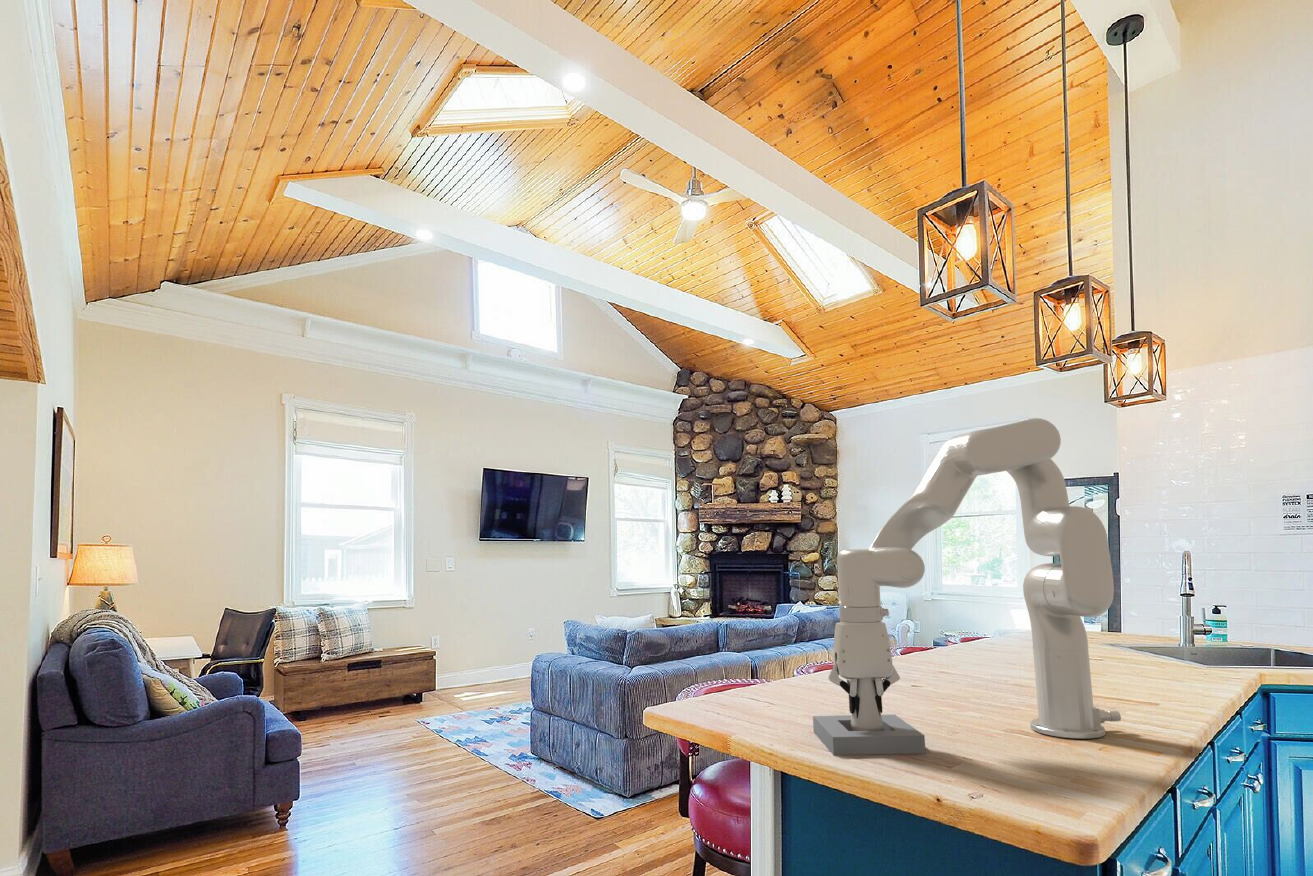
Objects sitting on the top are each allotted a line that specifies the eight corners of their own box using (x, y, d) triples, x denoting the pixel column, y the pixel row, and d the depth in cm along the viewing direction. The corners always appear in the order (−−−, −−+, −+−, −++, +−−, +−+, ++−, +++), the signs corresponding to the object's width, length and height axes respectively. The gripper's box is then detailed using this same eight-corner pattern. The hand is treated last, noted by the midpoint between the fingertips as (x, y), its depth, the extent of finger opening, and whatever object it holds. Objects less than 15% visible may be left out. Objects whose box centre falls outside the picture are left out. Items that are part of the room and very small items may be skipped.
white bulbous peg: (885, 742, 135) (880, 667, 137) (852, 741, 137) (848, 667, 138) (882, 733, 141) (878, 662, 143) (850, 733, 142) (847, 661, 144)
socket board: (895, 730, 147) (894, 714, 147) (925, 753, 131) (924, 735, 131) (813, 732, 147) (812, 716, 147) (833, 755, 131) (832, 737, 131)
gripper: (897, 612, 146) (903, 712, 143) (812, 614, 145) (817, 714, 143) (910, 616, 138) (917, 721, 136) (821, 618, 138) (826, 723, 136)
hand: (866, 716), depth 139 cm, fingers closed on white bulbous peg, 3 cm apart
